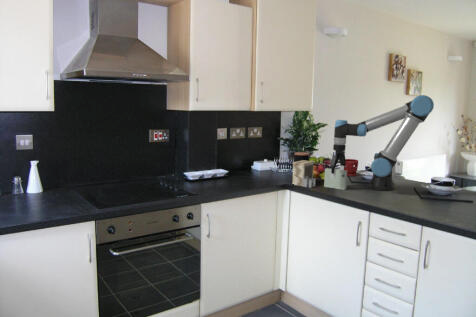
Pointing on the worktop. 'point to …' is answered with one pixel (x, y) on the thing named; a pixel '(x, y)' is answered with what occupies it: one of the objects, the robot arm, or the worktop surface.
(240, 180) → the worktop surface
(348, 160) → the plant pot
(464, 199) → the worktop surface
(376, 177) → the robot arm
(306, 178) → the hinge clips
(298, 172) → the cabinet
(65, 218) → the worktop surface
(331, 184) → the cabinet door
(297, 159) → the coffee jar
